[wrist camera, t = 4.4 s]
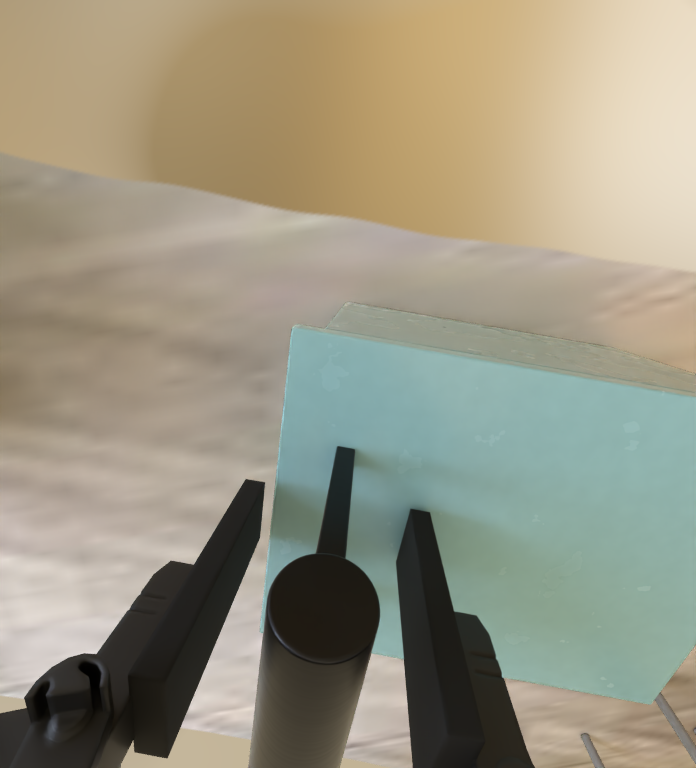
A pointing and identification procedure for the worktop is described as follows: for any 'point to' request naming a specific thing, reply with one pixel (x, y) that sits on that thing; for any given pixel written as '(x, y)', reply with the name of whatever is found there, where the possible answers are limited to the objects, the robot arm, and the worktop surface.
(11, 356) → the worktop surface
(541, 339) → the teal box
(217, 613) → the robot arm
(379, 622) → the cabinet door
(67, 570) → the worktop surface
